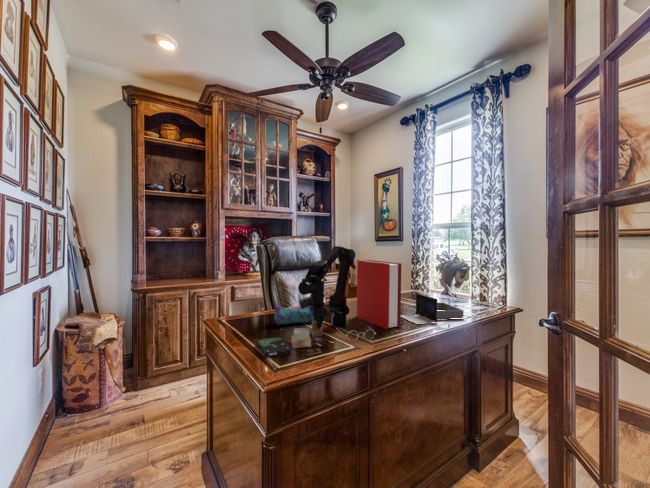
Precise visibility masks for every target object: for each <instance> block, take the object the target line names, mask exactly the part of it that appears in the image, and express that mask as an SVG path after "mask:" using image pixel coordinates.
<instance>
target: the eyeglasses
mask: <svg viewBox="0 0 650 488" xmlns="http://www.w3.org/2000/svg"><path fill="white" fill-rule="evenodd" d="M364 326H367V327H368V328H369V329H367V330H366V331H365V332H361V334H362V337H363V339H366V333H367V332H368V331H370V330H371V331H372V332H373V336H372V337H371V338H370V340H372V339H373V338H374V337H375V335H376V334H377V332H376V331H374V330H373V329H372V328H371V327H370V326H369V325H368V324H367V323H363V324H362V325H361V326H359V328H361V329H362V328H363V327H364ZM333 330H338V332H340V333H341V335H343V337H346V338H347V340H348V341H349V342H351V340H350V339H349V337H348V335H349V333H351V332H352V330H350V331H349V333H347V334H344V333H343V332H342V331H341V330H339V329H338V327H335V326H333ZM354 332H355V333H356V335H357V336H356V338H355V339H354V340H353V341H354V342H357V340H358V339H359V336H360V332H357V331H356V330H354Z"/></svg>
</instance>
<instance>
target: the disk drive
mask: <svg viewBox="0 0 650 488" xmlns="http://www.w3.org/2000/svg"><path fill="white" fill-rule="evenodd" d="M256 343H257V345H258V346H257V348H258V347H259V348H258V349H259V350H261V351H260V352H261V354H262V353H263V354H262V356H263V355H264V356H263V358H264V359H265V358H266V359H268V358H267V357H272V358H276V357H275V356H279V357H285V356H284V355H286V356H291V354H292V355H293V352H292V351H293V348H292V346H290V345H289V344H288V343H287V341H286V340H285V339H284V338H283V337H281V336H278V337H271V338H265V339H258V340H257V342H256Z"/></svg>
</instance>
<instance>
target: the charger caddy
mask: <svg viewBox="0 0 650 488" xmlns="http://www.w3.org/2000/svg"><path fill="white" fill-rule="evenodd" d="M437 310H445V311H437V319H450V318H462V317H463V318H464V309H461V308H458V307H456V306H454V305H451V304H449V303H446V302H437Z"/></svg>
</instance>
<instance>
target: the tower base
mask: <svg viewBox="0 0 650 488" xmlns="http://www.w3.org/2000/svg"><path fill="white" fill-rule="evenodd" d="M293 348H312V338H311V336H310V335H309V340H294V334H292V335H291V349H293Z"/></svg>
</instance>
